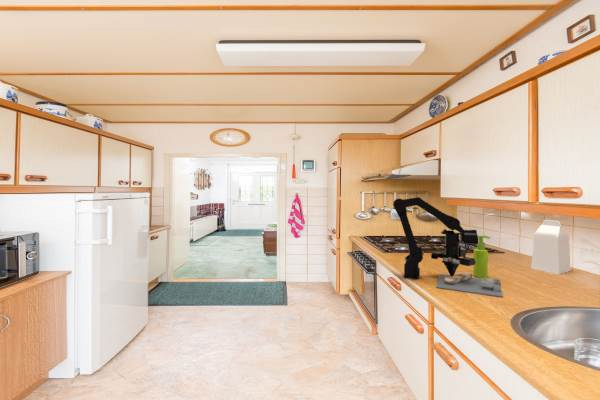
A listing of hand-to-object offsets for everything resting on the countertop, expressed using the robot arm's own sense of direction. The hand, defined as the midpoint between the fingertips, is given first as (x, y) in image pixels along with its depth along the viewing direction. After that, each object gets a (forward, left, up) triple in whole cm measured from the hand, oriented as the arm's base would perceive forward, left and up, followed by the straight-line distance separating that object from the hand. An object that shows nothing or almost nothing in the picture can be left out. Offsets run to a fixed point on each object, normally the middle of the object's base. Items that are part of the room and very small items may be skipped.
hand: (452, 276), depth 137 cm
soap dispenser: (+12, +12, -2) cm, 17 cm away
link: (+3, -2, -1) cm, 4 cm away
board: (+6, -5, -2) cm, 8 cm away
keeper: (+15, -8, -2) cm, 17 cm away
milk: (+44, +42, -2) cm, 61 cm away
